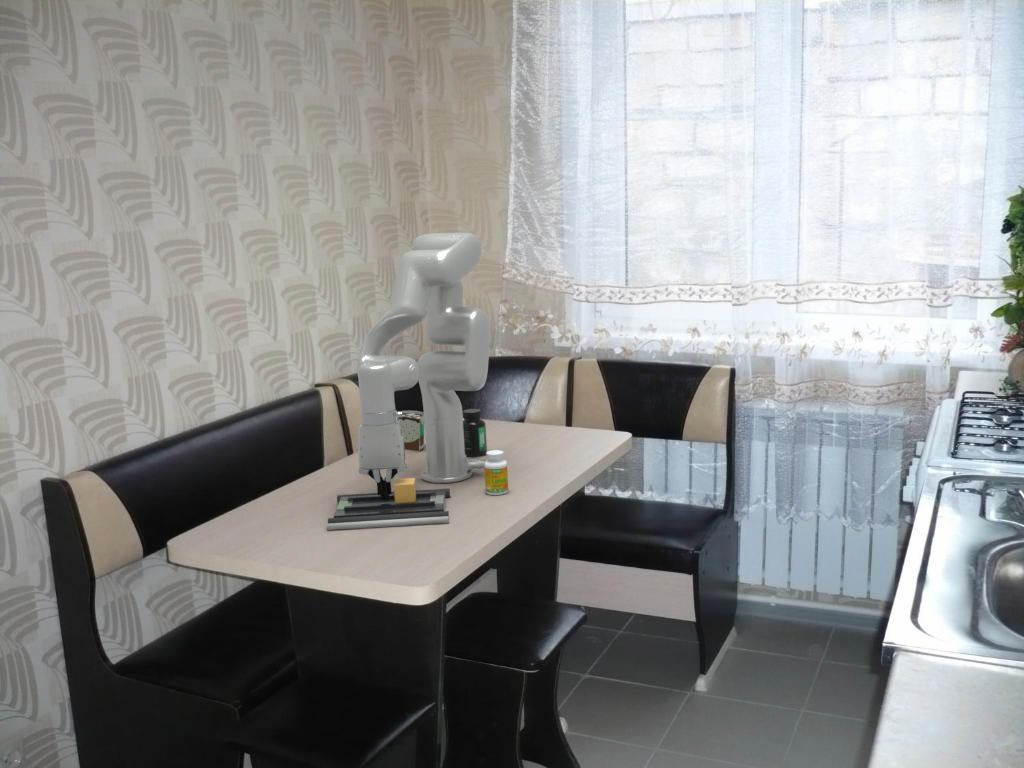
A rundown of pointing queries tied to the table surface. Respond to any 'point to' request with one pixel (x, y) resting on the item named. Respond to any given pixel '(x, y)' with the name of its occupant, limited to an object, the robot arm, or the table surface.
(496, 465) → the supplement bottle
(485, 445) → the supplement bottle
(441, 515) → the pair of dark bars
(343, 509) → the railed metal tray
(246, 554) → the table surface
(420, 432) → the food container
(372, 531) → the table surface
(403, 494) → the toggle
